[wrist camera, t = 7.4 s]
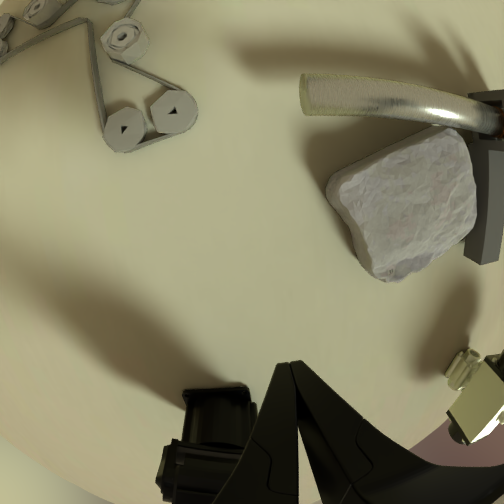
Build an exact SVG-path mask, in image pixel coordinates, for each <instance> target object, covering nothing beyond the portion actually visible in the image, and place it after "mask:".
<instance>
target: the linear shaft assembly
mask: <svg viewBox="0 0 504 504" xmlns="http://www.w3.org/2000/svg"><path fill="white" fill-rule="evenodd" d="M299 96H300V103H301V108H302V111H303V113H304V115H305V116H361V117H378V118H391V119H401V120H410V121H418V122H426V123H433V124H439V125H445V126H451V127H456V128H461V129H466V130H471V131H476V132H480V133H484V134H488V135H491V136H492V137H495V138H497V141H504V112H503V108H498V107H496V106H490V105H487V104H484V103H482V102H479V101H476V100H473V99H469V98H466V97H463V96H460V95H456V94H453V93H449V92H445V91H441V90H437V89H433V88H429V87H424V86H419V85H414V84H409V83H404V82H398V81H392V80H385V79H378V78H370V77H360V76H349V75H334V74H302V75H301V77H300V83H299Z"/></svg>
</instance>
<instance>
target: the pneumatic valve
mask: <svg viewBox="0 0 504 504" xmlns="http://www.w3.org/2000/svg"><path fill="white" fill-rule="evenodd" d="M480 359H481V357H480V354H479V353H478V352H477V351H475V350H473V349H468V350H467V351H466V352H465V353H463V352H462V351H461V352H459V353H457V355H456V357H455V358H454V360H453V361H452V363H451V365H450V366H449V368H448V369H447V371H446V372H445V374H446V375H445V377H447V378H449V379H448V386H449V387H450V388H451V389H453V390H455V391H457V390H460V389H461V388H462V387H465V388H463V389H462V390H461V391H462V393H461V394H460V396H459V397H458V398H457V400H456V401H455V402H454V403H453V405H452V406H451V407H450V408H449V410H448V411H447V412H446V413H447V415H448V417H449V421H452V422H451V423H450V425H449V428H448V430H449V434H450V436H451V437H452V439H453V440H454V441H456V442H457V443H459V444H466V445H467V446H469V445H471V444H473V443H475V442H477V441H479V440H481V439H483V438H485V437H486V436H487V435H488V434H489V433H490V432H491V431H492V430H493V428H495V427H496V425H497V424H498V423H499V422H500V423H501V425H502V424H504V350H503V351H502V353H501V354H496V355H488V356H486V357H485V359H484V360H483V362H482V361H481V362H479V361H480ZM478 362H479V363H478Z"/></svg>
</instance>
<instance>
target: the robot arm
mask: <svg viewBox="0 0 504 504" xmlns="http://www.w3.org/2000/svg"><path fill="white" fill-rule="evenodd" d="M243 391H246V392H243ZM187 394H188V395H187ZM182 397H183V399H184V401H185V404H186V406H187V407H186V413H185V420H184V426H183V433H182V439H181V441H178V439H173V438H172V442H171V444H170V445H167V446H164V449H163V454H162V459H161V463H160V466H159V469H158V473H157V476H156V482H155V483H156V484H157V485H158V486H159V488H160V489H161V493H162V494H163V501H165V502H171V503H172V504H299V498H298V496H299V463H298V428H299V431H300V434H301V437H302V441H303V444H304V447H305V450H306V453H307V456H308V460H309V463H310V466H311V469H312V472H313V475H314V478H315V481H316V485H317V488H318V491H319V494H320V497H321V500H322V503H323V504H504V464H502V465H498V466H491V467H456V466H441V465H436V464H433V463H430V462H428V461H425V460H424V459H422V458H420V457H418V456H417V455H415V454H413V453H412V452H410V451H408V450H407V449H405V448H404V447H402V446H400V445H399V444H397V443H396V442H394V441H393V440H391V439H390V438H388V437H387V436H385V435H384V434H383V433H381V432H380V431H379V430H378V429H376V428H375V427H374V426H373V425H372V424H370V423H369V422H368V421H367V420H366V419H363V417H362V416H361V415H360V414H359V413H358V412H357V411H356V410H355V409H354V408H352V407H351V406H350V405H349V404H348V403H347V402H346V401H345V400H344V399H343V398H341V397H340V396H339V395H338V394H337V393H336V392H335V391H334V390H333V389H332V388H331V387H330V386H328V385H327V384H326V383H325V382H324V381H323V380H322V379H321V378H320V377H319V376H318V375H317V374H316V373H315V372H314V371H313V370H311V369H310V368H309V367H308V366H307V365H306V364H305V363H304V362H303V361H302V360H298V361H291V362H290V363H288V362H284V363H278V364H277V365H276V367H275V370H274V373H273V375H272V378H271V381H270V384H269V387H268V390H267V392H266V395H265V398H264V401H263V403H262V406H261V409H260V411H259V414H258V410H257V404H256V403H255V402H252V401H251V395H250V390H249V388H248V387H234V388H219V389H197V390H184V391H183V393H182Z"/></svg>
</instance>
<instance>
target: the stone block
mask: <svg viewBox="0 0 504 504" xmlns="http://www.w3.org/2000/svg"><path fill="white" fill-rule="evenodd" d="M325 190H326V198H327V200H328V201H329V203H330V204H331V205H332V207H334V209H335V210H336V211H337V212H338V214H339V215H340V217H341V218H342V220H343V221H344V222H345V223H346V224H347V225H348V227H349V229H350V231H351V236H352V240H353V246H354V249H355V251H356V254H357V258H358V260H359V263H360V264H361V266H362V267H363V268H364V269H365V270H366V271H367V272H368V273H369V274H370V275H371V276H373V277H374V278H376V279H379V280H381V281H384V282H386V283H399V282H401V281H402V280H403V279H404V278H406V277H407V276H408V275H409V274H411V273H413V272H419V271H421V270H422V269H424V268H426V267H427V266H428V265H429V264H430V263H431V262H432V260H435V259H436V258H438V257H440V256H442V255H443V254H444V253H445V252H446V251H448V249H449V248H450V247H451V246H452V245H454V244H457V243H458V242H459V241H460V240H461V239H463V238H464V237H465V236H466V235H467V234H468V233H469V232H470V230H472V228H473V227H474V224H475V221H476V217H477V208H476V184H475V181H474V177H473V174H472V163H471V160H470V155H469V151H468V148H467V146H466V144H465V142H464V140H463V138H462V137H461V136H460V135H459V134H458V133H457V132H456V130H455V129H453V128H451V127H450V126H443V125H442V126H432V127H429V128H427V129H424V130H422V131H420V132H418V133H416V134H414V135H411V136H409V137H407V138H405V139H403V140H401V141H399V142H397V143H394V144H392V145H390V146H388V147H386V148H384V149H382V150H379V151H377V152H375V153H373V154H371V155H369V156H368V157H366V158H364V159H362V160H359V161H357V162H355V163H353V164H351V165H349V166H347V167H345V168H343V169H341V170H339V171H336V172H335V173H334V174H333V175H332V176H330V178H329V181H328V183H327V186H326V188H325Z"/></svg>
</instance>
